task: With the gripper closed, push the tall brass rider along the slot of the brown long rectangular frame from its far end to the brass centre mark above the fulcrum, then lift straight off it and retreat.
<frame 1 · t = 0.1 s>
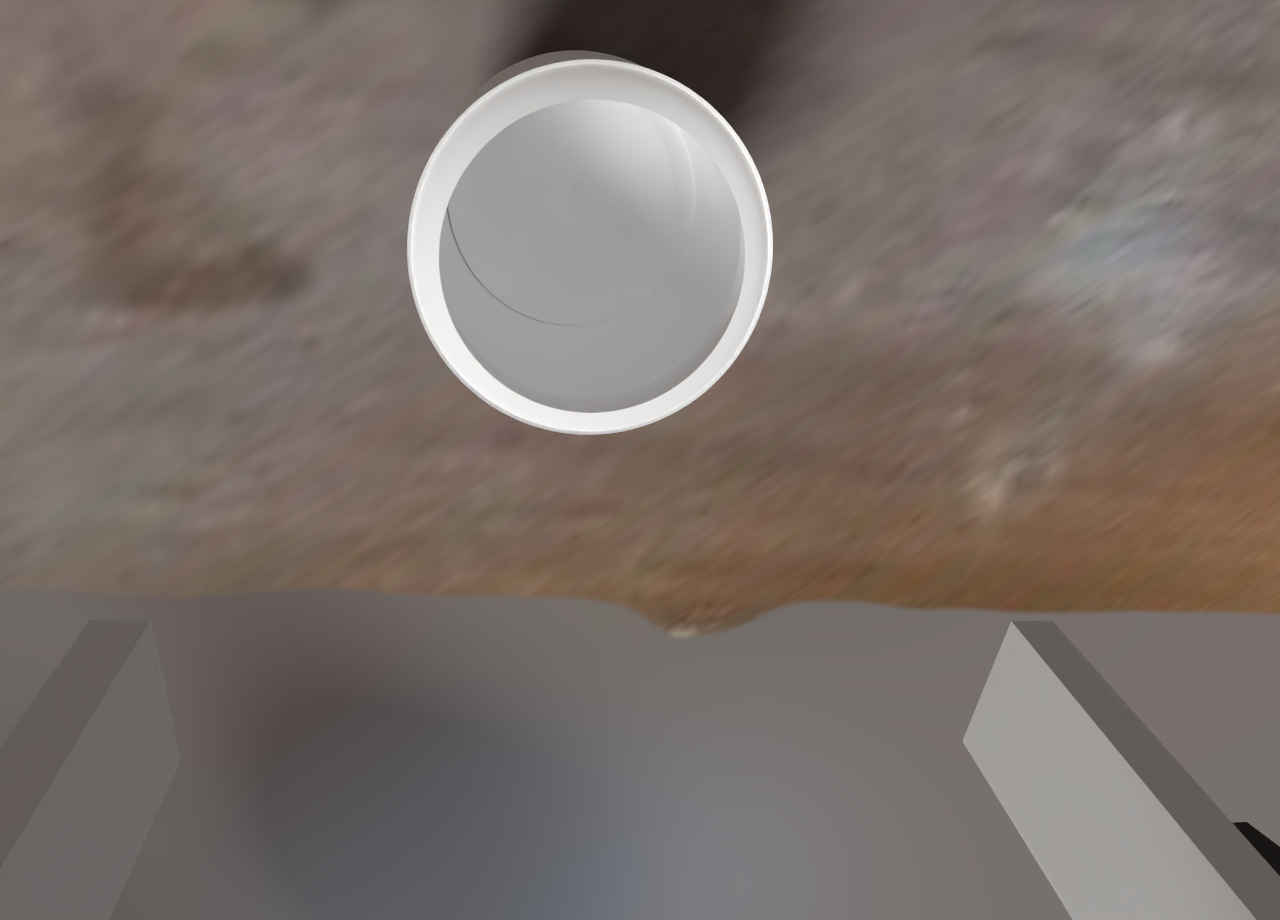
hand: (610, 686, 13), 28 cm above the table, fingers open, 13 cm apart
jar: (566, 177, 36), on the table
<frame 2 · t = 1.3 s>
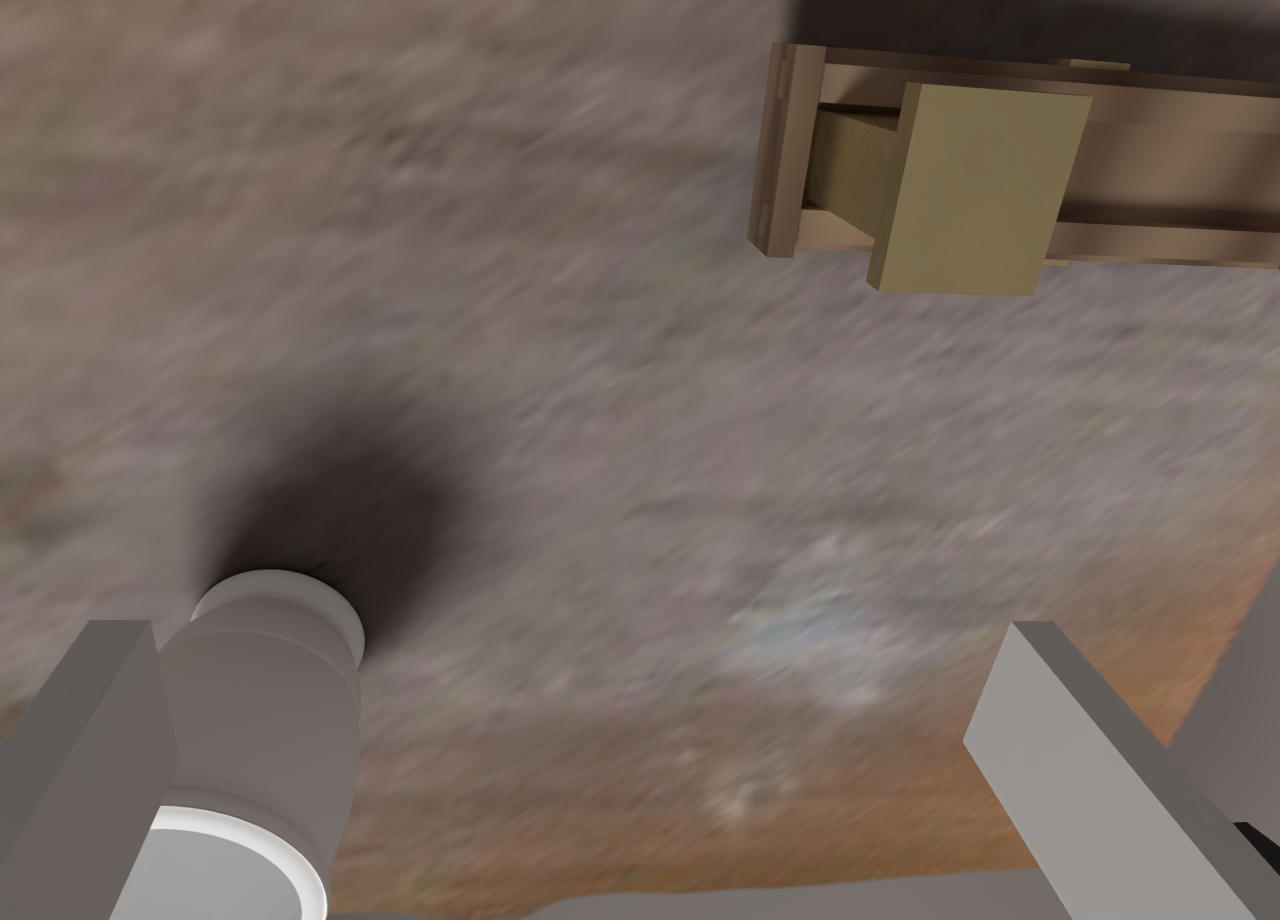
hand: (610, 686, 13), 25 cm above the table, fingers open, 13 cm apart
rider: (921, 175, 27), point 8 cm above the table, slide at -8.0 cm
jar: (282, 631, 42), on the table
brown long rectangular frame: (1014, 154, 35), on the table
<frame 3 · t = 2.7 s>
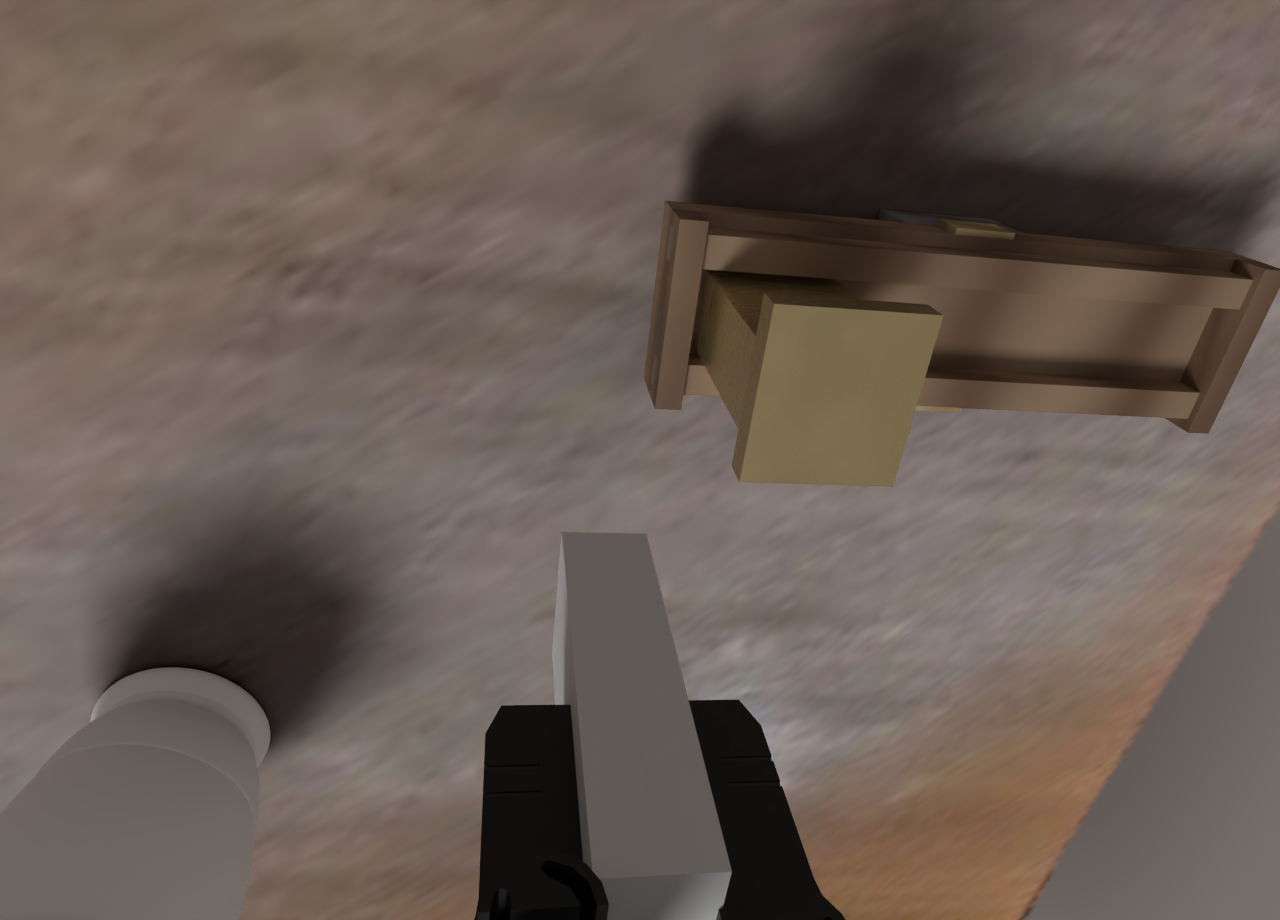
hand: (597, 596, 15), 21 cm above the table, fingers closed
rider: (796, 352, 27), point 8 cm above the table, slide at -8.0 cm
jar: (187, 723, 42), on the table
brown long rectangular frame: (913, 295, 36), on the table
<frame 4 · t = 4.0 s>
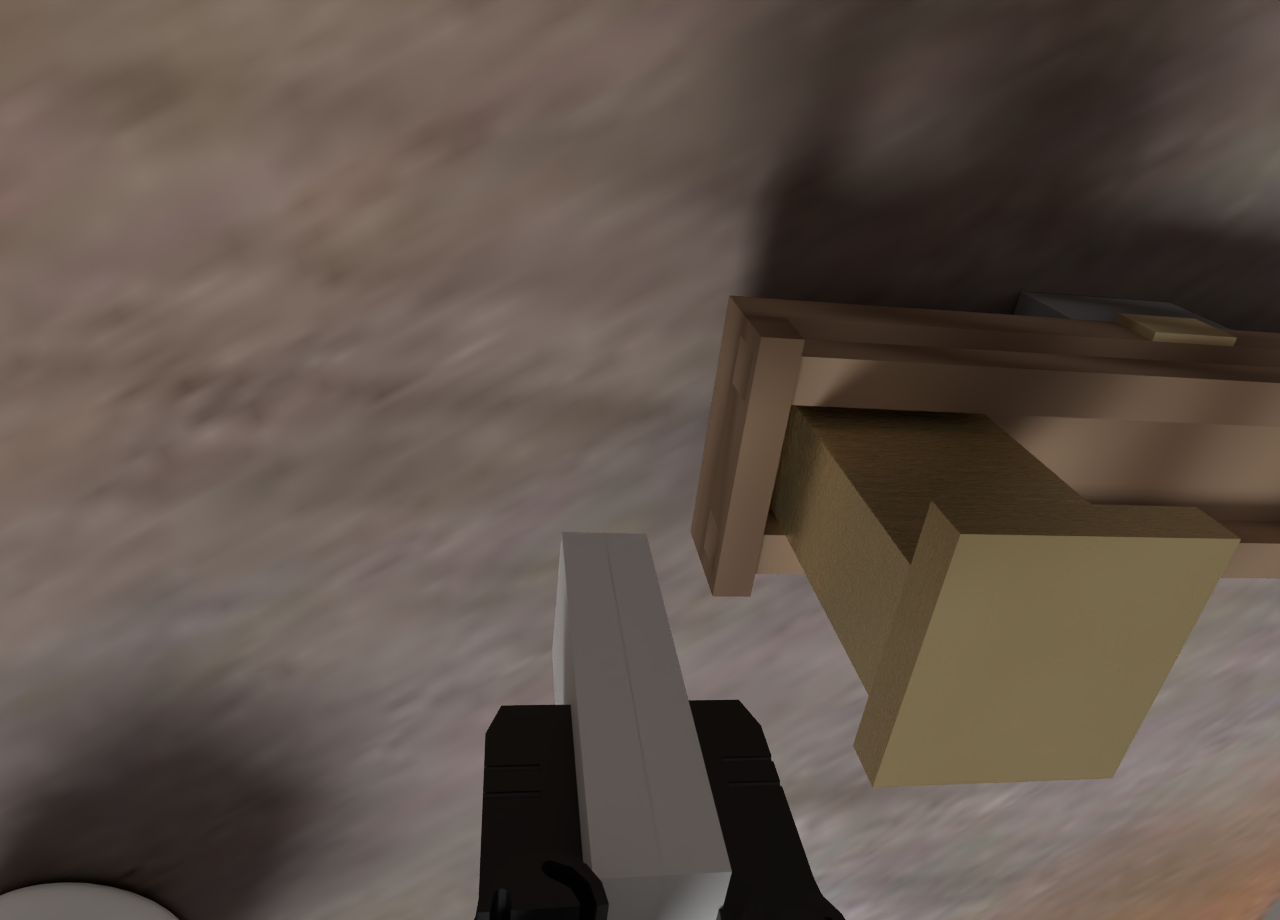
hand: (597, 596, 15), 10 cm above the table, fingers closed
rider: (941, 541, 18), point 8 cm above the table, slide at -8.0 cm
brown long rectangular frame: (1056, 403, 26), on the table
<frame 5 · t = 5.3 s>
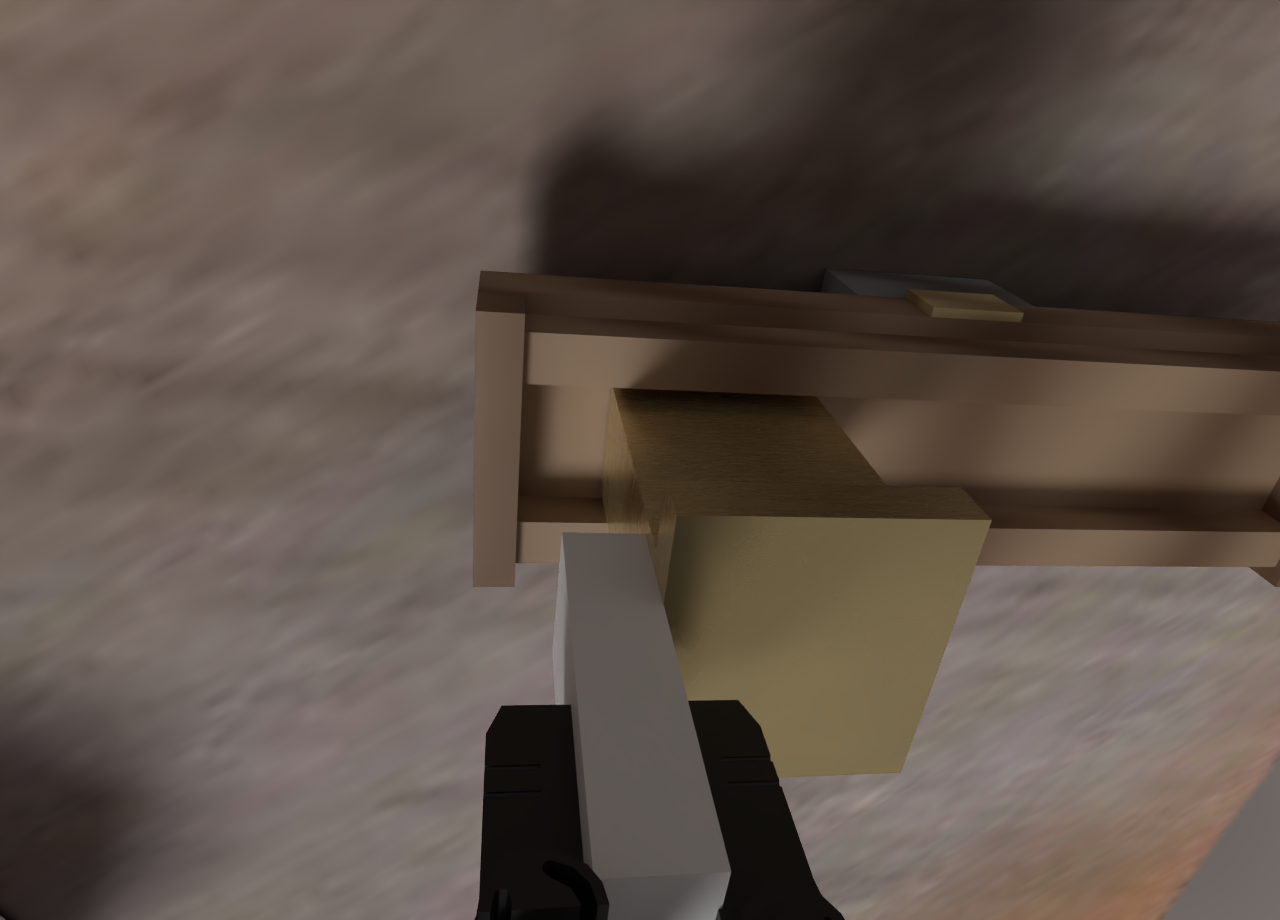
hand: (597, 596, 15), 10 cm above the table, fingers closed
rider: (743, 527, 17), point 8 cm above the table, slide at -6.4 cm, touching gripper
brown long rectangular frame: (878, 386, 25), on the table
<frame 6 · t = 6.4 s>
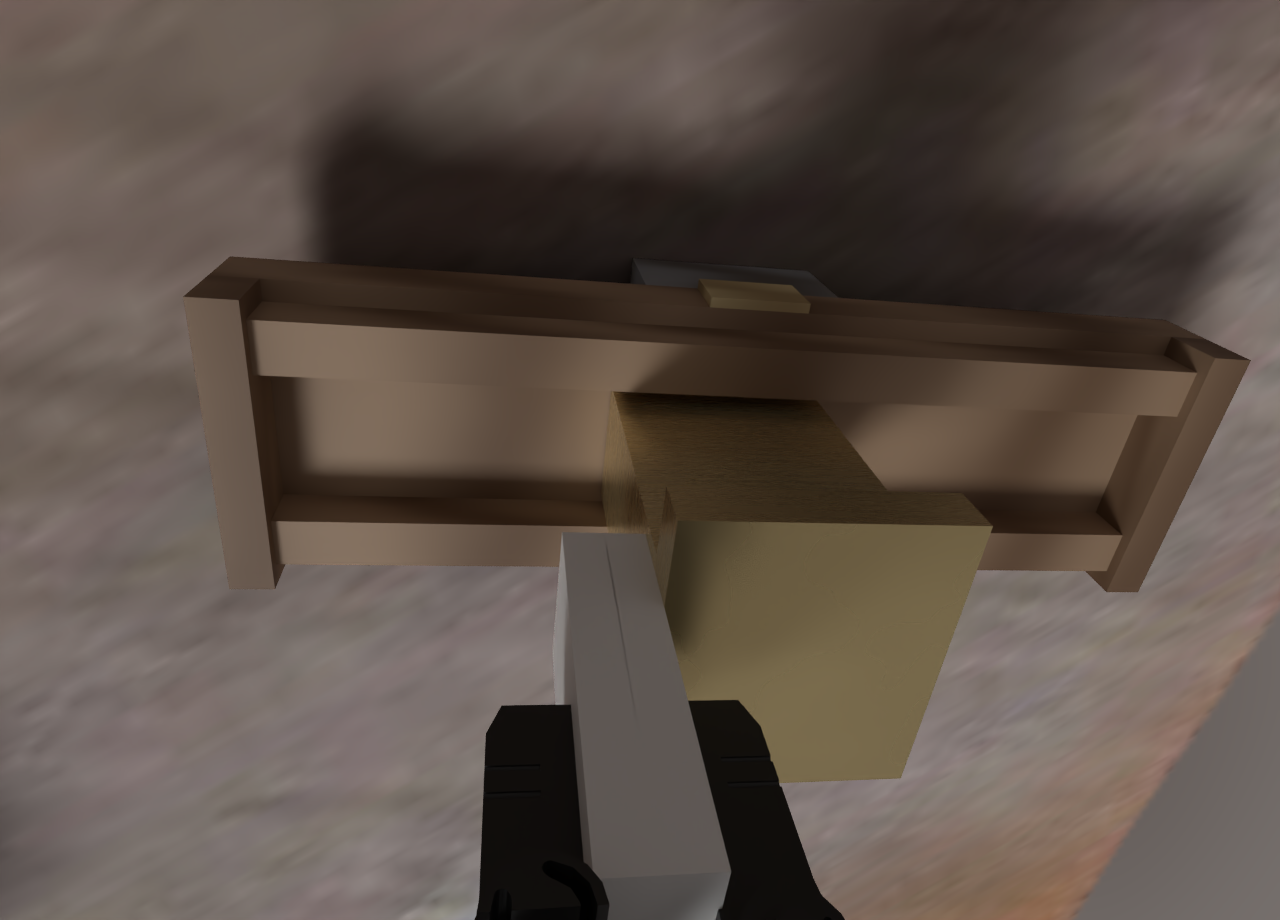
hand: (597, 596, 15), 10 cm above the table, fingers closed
rider: (744, 532, 17), point 8 cm above the table, slide at -0.8 cm, touching gripper
brown long rectangular frame: (703, 381, 24), on the table
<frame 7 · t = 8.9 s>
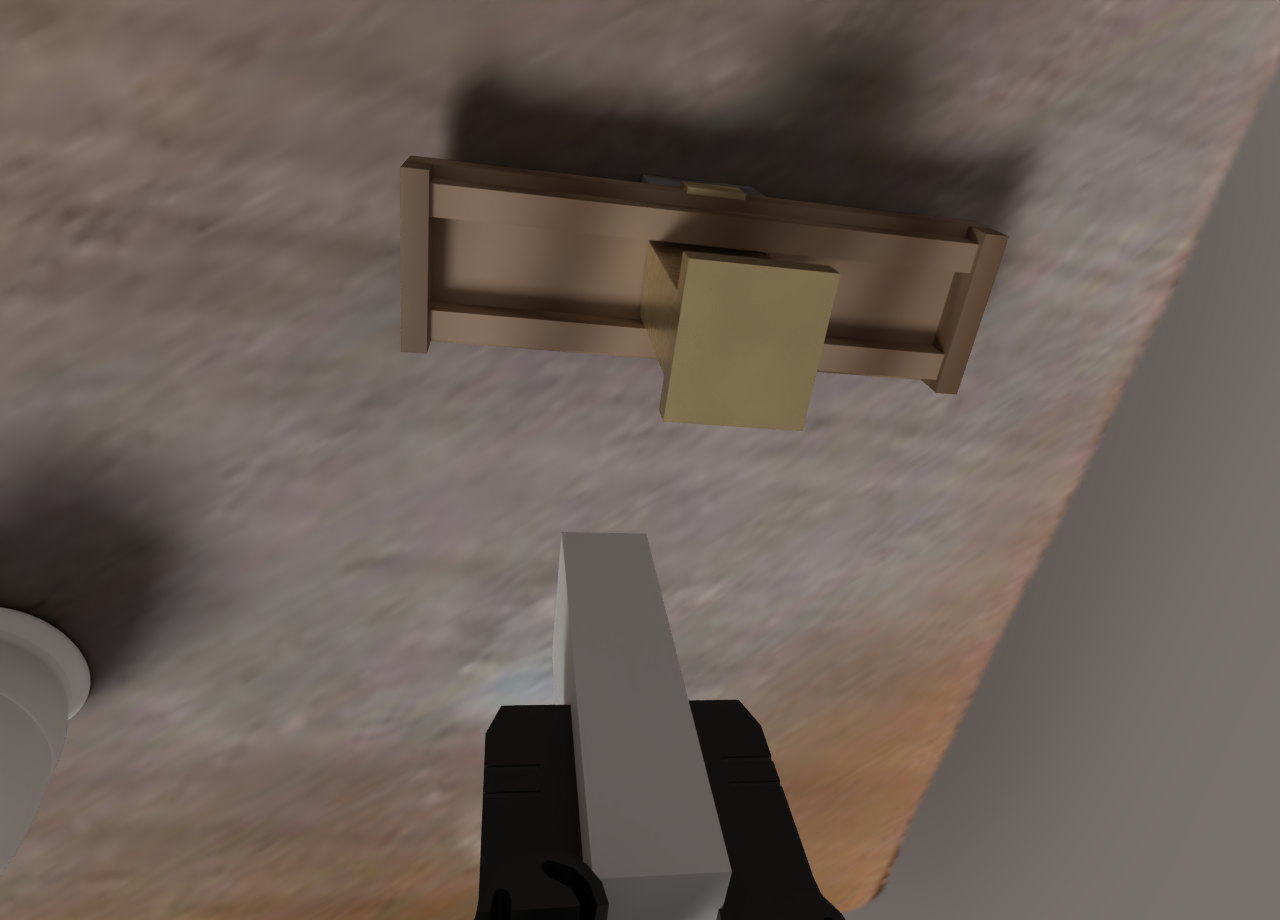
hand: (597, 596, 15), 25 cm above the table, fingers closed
rider: (723, 313, 30), point 8 cm above the table, slide at 0.0 cm
jar: (8, 663, 43), on the table
brown long rectangular frame: (685, 259, 38), on the table
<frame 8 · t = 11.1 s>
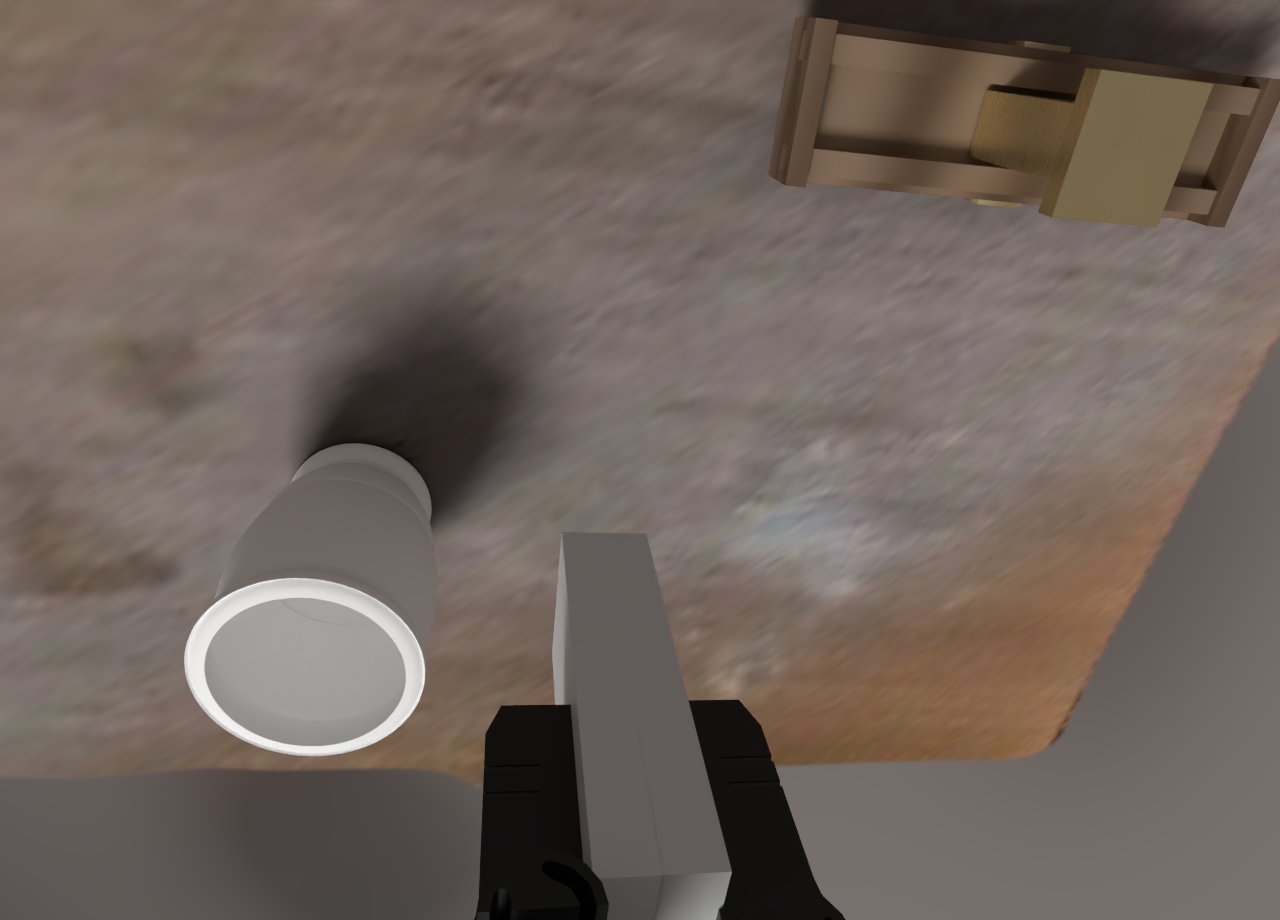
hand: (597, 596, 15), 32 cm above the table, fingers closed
rider: (1072, 139, 37), point 8 cm above the table, slide at 0.0 cm
jar: (362, 501, 50), on the table
brown long rectangular frame: (982, 119, 44), on the table
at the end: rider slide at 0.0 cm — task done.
